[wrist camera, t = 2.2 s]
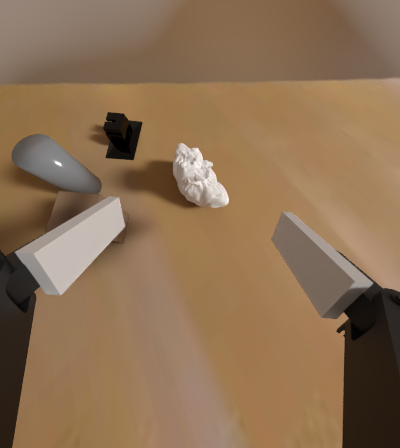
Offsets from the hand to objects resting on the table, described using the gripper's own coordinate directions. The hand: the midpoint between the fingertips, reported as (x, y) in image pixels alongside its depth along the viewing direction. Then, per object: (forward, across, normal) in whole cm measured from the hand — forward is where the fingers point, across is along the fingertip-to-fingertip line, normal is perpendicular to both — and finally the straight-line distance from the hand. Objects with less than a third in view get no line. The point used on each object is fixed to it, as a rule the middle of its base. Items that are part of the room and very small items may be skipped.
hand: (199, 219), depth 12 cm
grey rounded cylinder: (+15, -21, -3) cm, 26 cm away
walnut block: (+10, -15, -8) cm, 20 cm away
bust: (+16, -1, -3) cm, 16 cm away
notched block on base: (+23, -16, +4) cm, 28 cm away
